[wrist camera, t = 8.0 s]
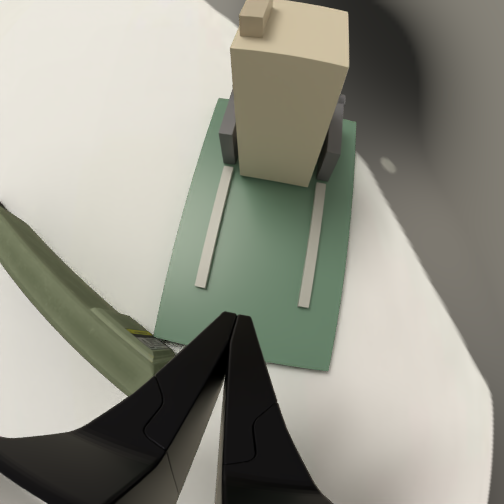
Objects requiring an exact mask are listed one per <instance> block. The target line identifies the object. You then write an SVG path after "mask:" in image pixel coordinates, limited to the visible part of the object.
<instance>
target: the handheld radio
mask: <svg viewBox="0 0 504 504" xmlns="http://www.w3.org/2000/svg"><path fill="white" fill-rule="evenodd" d="M0 263H1V264H2V266H3V267H4V268H5V270H6V271H7V272H8V274H9V275H10V276H11V278H12V279H13V280H14V282H15V283H16V284H17V286H18V287H19V288H20V289H21V291H22V292H23V293H24V294H25V296H26V297H27V298H28V299H29V300H30V302H31V303H32V304H33V305H34V306H35V307H36V308H37V310H38V311H39V312H40V313H41V314H42V315H43V316H44V317H45V319H46V320H47V321H48V322H49V323H50V324H51V325H52V326H53V327H54V328H55V329H56V330H57V331H58V332H59V334H60V335H61V336H62V337H63V338H64V339H65V340H66V341H67V342H68V343H69V344H70V345H71V346H72V347H73V348H74V349H75V350H76V351H77V352H78V353H79V354H81V355H82V356H83V357H84V358H85V359H86V360H87V361H88V362H89V363H90V364H91V365H92V366H93V367H94V368H96V369H97V370H98V371H99V372H100V373H101V374H102V375H103V376H104V377H106V378H107V379H108V380H109V381H110V382H111V383H113V384H114V385H115V386H116V387H117V388H118V389H120V390H121V391H122V392H123V393H124V394H126V395H127V396H130V395H131V394H133V393H134V392H135V391H136V390H137V389H139V388H140V387H141V386H142V385H143V384H145V383H146V382H147V381H148V380H149V379H150V378H151V377H152V376H155V374H156V373H157V372H158V371H159V370H160V369H161V368H163V367H164V366H165V365H166V364H167V363H168V362H169V361H170V360H171V359H172V358H174V355H175V354H174V352H173V351H172V349H170V348H169V347H168V346H166V345H165V344H164V343H162V342H161V341H160V340H158V339H157V338H156V337H153V335H152V334H151V333H150V332H148V331H147V330H146V329H145V328H143V327H142V326H141V325H140V324H138V323H137V322H136V321H135V320H133V319H132V318H131V317H130V316H128V315H124V314H120V313H119V312H117V311H116V310H115V309H114V308H113V307H112V306H110V305H109V304H108V303H107V302H106V301H105V300H104V299H102V298H101V297H100V296H99V295H98V294H97V293H96V292H95V291H94V290H92V289H91V288H90V287H89V286H88V285H87V284H86V283H85V282H84V281H83V280H82V279H81V278H80V277H79V276H77V275H76V274H75V273H74V272H73V271H72V270H71V269H70V268H69V267H68V266H67V265H66V264H65V263H64V262H63V261H62V260H61V259H60V258H59V257H58V256H57V255H56V254H55V253H54V252H53V251H52V250H51V249H50V248H49V247H48V246H47V245H46V244H45V243H44V242H43V240H42V239H41V238H40V237H39V236H38V235H37V234H36V233H35V232H34V231H33V230H32V229H31V228H30V226H29V225H27V224H26V223H25V222H24V221H22V220H21V219H19V218H18V217H16V216H15V215H13V214H12V213H10V212H9V211H7V210H6V209H5V207H4V206H3V205H2V204H1V202H0Z"/></svg>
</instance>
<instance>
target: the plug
mask: <svg viewBox="0 0 504 504" xmlns="http://www.w3.org/2000/svg"><path fill="white" fill-rule="evenodd" d="M239 25H240V26H239V28H238V31H237V33H236V35H235V38H234V40H233V42H232V45H231V47H230V54H231V68H232V81H233V93H234V106H235V119H236V131H237V144H238V156H239V168H240V175H242V176H248V177H254V178H259V179H265V180H271V181H276V182H282V183H287V184H292V185H298V186H303V187H308V185H309V182H310V179H311V177H312V174H313V171H314V168H315V165H316V163H317V160H318V157H319V154H320V151H321V148H322V145H323V143H324V140H325V137H326V134H327V131H328V128H329V125H330V122H331V119H332V116H333V114H334V111H335V108H336V105H337V102H338V99H339V96H340V93H341V90H342V87H343V84H344V81H345V78H346V75H347V71H348V68H349V32H348V12H345V11H340V10H336V9H332V8H327V7H322V6H317V5H311V4H305V3H299V2H293V1H285V0H246V2H245V4H244V6H243V8H242V10H241V12H240V15H239Z"/></svg>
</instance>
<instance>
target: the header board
mask: <svg viewBox="0 0 504 504" xmlns="http://www.w3.org/2000/svg"><path fill="white" fill-rule="evenodd" d="M232 86H233V85H232ZM344 106H345V95H341V94H340V96H339V99H338V102H337V105H336V108H335V111H334V114H333V116H332V119H331V122H330V125H329V128H328V131H327V134H326V137H325V140H324V143H323V145H322V148H321V151H320V154H319V157H318V160H317V163H316V165H315V168H314V171H313V174H312V177H311V179H310V182H309V185H308V187H303V186H298V185H292V184H287V183H282V182H276V181H271V180H265V179H259V178H254V177H248V176H242V175H240V168H239V156H238V144H237V131H236V119H235V106H234V93H233V89H232V92H231V95H230V99H222V98H219V99H218V102H217V104H216V107H215V110H214V113H213V116H212V119H211V122H210V125H209V128H208V131H207V134H206V137H205V140H204V143H203V146H202V150H201V153H200V156H199V159H198V162H197V166H196V169H195V172H194V176H193V179H192V182H191V186H190V189H189V193H188V196H187V200H186V203H185V207H184V210H183V214H182V217H181V221H180V225H179V229H178V232H177V236H176V240H175V244H174V248H173V252H172V256H171V260H170V264H169V268H168V272H167V276H166V281H165V285H164V289H163V294H162V298H161V302H160V307H159V312H158V316H157V321H156V326H155V331H154V336H153V337H156V338H160V339H164V340H168V341H172V342H176V343H180V344H184V345H188V344H189V343H190V342H191V341H192V340H193V339H194V338H195V337H196V336H198V335H199V334H200V333H201V332H202V331H203V330H204V329H205V328H206V327H207V326H208V325H209V324H210V323H212V322H213V321H214V320H215V319H216V318H217V317H218V316H219V315H220V314H221V313H222V312H224V311H227V312H232V313H236V314H237V315H238V314H242V315H247V316H250V317H251V318H252V321H253V324H254V327H255V331H256V334H257V337H258V340H259V344H260V347H261V350H262V353H263V357H264V360H265V362H270V363H276V364H282V365H288V366H294V367H301V368H307V369H314V370H322V371H328V370H329V365H330V360H331V354H332V349H333V344H334V338H335V332H336V326H337V320H338V314H339V308H340V301H341V294H342V287H343V280H344V273H345V265H346V257H347V248H348V239H349V229H350V219H351V208H352V195H353V181H354V164H355V142H356V122H353V121H349V120H345V119H343V109H344Z"/></svg>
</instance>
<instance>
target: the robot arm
mask: <svg viewBox="0 0 504 504" xmlns="http://www.w3.org/2000/svg"><path fill="white" fill-rule="evenodd" d="M224 378H225V381H224ZM223 382H224V390H223V402H222V414H221V426H220V439H219V452H218V465H217V479H216V493H215V504H333V503H332V502H331V501H330V500H329V499H327V498H326V497H325V496H324V495H323V494H322V493H321V491H320V490H319V489H318V488H317V486H316V485H315V483H314V481H313V480H312V478H311V476H310V474H309V472H308V470H307V468H306V466H305V465H304V463H303V461H302V459H301V457H300V455H299V453H298V451H297V449H296V447H295V445H294V443H293V441H292V439H291V436H290V434H289V432H288V430H287V427H286V425H285V422H284V419H283V416H282V414H281V410H280V407H279V404H278V403H277V398H276V395H275V392H274V389H273V386H272V382H271V379H270V376H269V373H268V370H267V366H266V363H265V360H264V357H263V353H262V350H261V347H260V344H259V340H258V337H257V334H256V331H255V327H254V324H253V321H252V318H251V317H250V316H247V315H242V314H238V315H237V314H236V313H232V312H227V311H224V312H222V313H221V314H220V315H219V316H218V317H217V318H216V319H215V320H214V321H213V322H212V323H210V324H209V325H208V326H207V327H206V328H205V329H204V330H203V331H202V332H201V333H200V334H199V335H198V336H196V337H195V338H194V339H193V340H192V341H191V342H190V343H189V344H188V345H187V346H186V347H184V348H183V349H182V350H181V351H180V352H179V353H178V354H177V355H176V356H175V357H174V358H172V359H171V360H170V361H169V362H168V363H167V364H166V365H165V366H164V367H163V368H161V369H160V370H159V371H158V372H157V373H156V374H155V376H152V377H151V378H150V379H149V380H148V381H147V382H146V383H145V384H143V385H142V386H141V387H140V388H139V389H137V390H136V391H135V392H134V393H133V394H131V395H130V396H128V397H127V398H126V399H124V400H123V401H121V402H120V403H119V404H117V405H116V406H114V407H113V408H111V409H110V410H108V411H106V412H105V413H103V414H102V415H100V416H99V417H97V418H96V419H94V420H93V421H91V422H90V423H88V424H86V425H85V426H83V427H81V428H79V429H76V430H74V431H70V432H65V433H59V434H51V435H43V436H33V437H23V438H5V437H0V504H176V502H177V500H178V498H179V495H180V492H181V490H182V487H183V485H184V482H185V480H186V477H187V475H188V472H189V470H190V467H191V465H192V462H193V460H194V457H195V455H196V452H197V450H198V447H199V445H200V442H201V439H202V437H203V434H204V432H205V429H206V427H207V424H208V421H209V419H210V416H211V414H212V411H213V408H214V406H215V403H216V401H217V398H218V395H219V393H220V390H221V388H222V385H223Z"/></svg>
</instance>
